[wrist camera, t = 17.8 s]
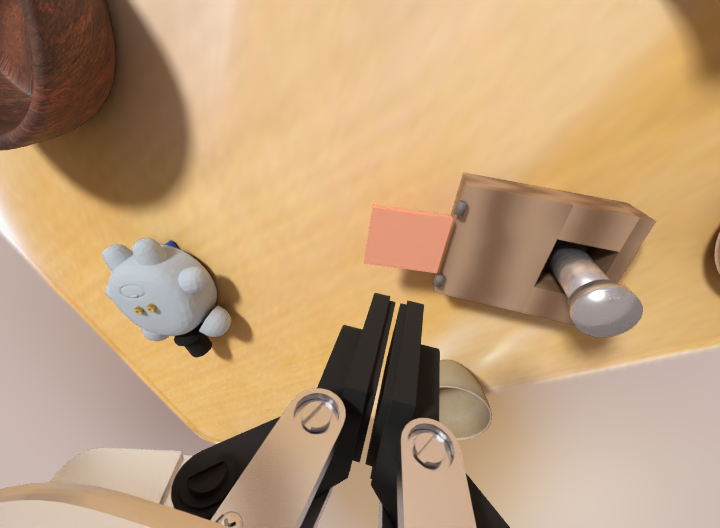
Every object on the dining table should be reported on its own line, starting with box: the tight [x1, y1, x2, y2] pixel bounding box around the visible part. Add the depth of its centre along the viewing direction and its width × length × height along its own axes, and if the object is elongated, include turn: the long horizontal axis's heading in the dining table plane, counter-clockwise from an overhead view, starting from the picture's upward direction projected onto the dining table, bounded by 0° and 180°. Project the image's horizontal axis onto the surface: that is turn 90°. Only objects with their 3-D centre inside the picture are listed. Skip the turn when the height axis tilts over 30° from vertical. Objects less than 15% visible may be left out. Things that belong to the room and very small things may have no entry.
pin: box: [546, 239, 643, 337], centre depth 30 cm, size 5×5×12 cm
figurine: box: [102, 238, 231, 357], centre depth 48 cm, size 17×8×20 cm
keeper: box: [364, 205, 453, 273], centre depth 32 cm, size 8×6×1 cm
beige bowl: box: [439, 360, 492, 440], centre depth 44 cm, size 10×10×7 cm
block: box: [433, 173, 656, 325], centre depth 33 cm, size 16×12×6 cm
